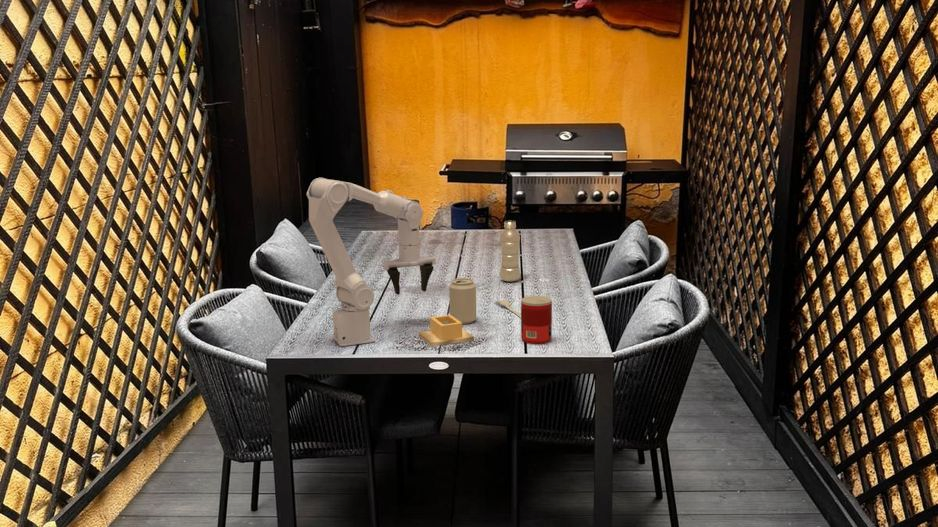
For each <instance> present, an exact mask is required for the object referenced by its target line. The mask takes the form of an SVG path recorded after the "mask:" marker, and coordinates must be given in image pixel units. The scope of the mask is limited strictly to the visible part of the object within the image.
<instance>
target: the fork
mask: <svg viewBox="0 0 938 527" xmlns="http://www.w3.org/2000/svg"><path fill="white" fill-rule="evenodd" d="M497 303H499V304H501V305H502V306H504V307H505V308H507V309H508V310H509V311H510V312H512V313H514V314H515V315H517V317H519V319H521V312H519V311H517V310H514V309H513V308H511V307H510V304H511V302H510V301H509V300H505V299H503V300H498V301H495V302H493V304H497Z"/></svg>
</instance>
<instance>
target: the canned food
mask: <svg viewBox="0 0 938 527" xmlns="http://www.w3.org/2000/svg"><path fill="white" fill-rule="evenodd" d="M520 313H521V318H520V325H521V326H520V338H521V340H522V342H523V343H526V344H529V343H530V345H544V344H548V343H549V342H551V340H552V336H553V335H552V334H553V333H552V332H553V331H552V326H553V324H552V322H553V318H552V317H553V316H552V315H553V301H552V298H550V297H548V296H545V295H544V296H541V295H530V296H526V297H523V298H521V301H520ZM547 342H548V343H547Z"/></svg>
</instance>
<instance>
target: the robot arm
mask: <svg viewBox="0 0 938 527" xmlns="http://www.w3.org/2000/svg"><path fill="white" fill-rule="evenodd" d="M306 197H307V199H308V221H309V224H310V226H311V228H312V230H313V232H314V234H315V236H316V238H317V241H318V242H319V245H320V246H321V248H322V251H323V254H324V255H325V258H326V259H327V262H328V264H329V266H330V268H331V270H332V272H333V274H334V276H335V278H336V279H335V280H334V281H333V284H334V286H335V295H336V298H337V300H338V301H339V302H340V306H341V308H339V309H335V310H334V311H333V312H332V324H333V326H332V327H333V337H332V338H333V339H334V341H335V342H336V343H337V344H338V346H340V347H347V346H353V345H354V346H355V345H361V344H368V343H375V342H376V339H375V337H373V335H371V315H370V312H371V311H370V310H371V307H372V304H373V303H374V300H375V292H374V290H373V288H371V287H370V286H369V285H368V284H367V283H366V281H365V280H364V278H363V277H362V276H361V275H360V274H359V273H358V272H357V271H356V268H355V267H354V264H353V262H352V260H351V257H350V255H349V253H348V251H347V249H346V246H345V245H344V243H343V240H342V238H341V236H340V234H339V232H338V230H337V228H336V227H337V226H336V225H335V223H334V218H335V217H336V215H337V214H338V212H339V211H340V210H341V209H342V208H343V207H344V205H345V203H346V202H347V201H348V202H350V201H352V200H353V199H355V200H358V201H360V202H364V203H368V204H371V205H373V207H374V210H375V211H376V212H378V213H381V214H383V215H387V216H390V217H393V218H395V219H396V220H397V232H398V233H397V235H398V258H396V259H391V260H384V261H382V264H383V265H382V267H383V269H384V270H385V271H386V273H387V274H388V276H389V278H390V281H391V283H392V286H393V288H394V294H396V295H397V296H398V295H400V294H401V290H400V289H401V287H400V278H401V275H400V274H401V272H400V271H399V269H401V268H411V267H418V266H419V272H420V289H421V291H422V292H427V289H428V288H427V287H428V283H429V280H430V278H431V275H432V273H433V271H434V269H435V268H434V266H435V265H437V258H436V257H435V256H433V255H432V256H421V250H420V249H421V247H420V245H421V243H420V242H421V241H420V240H421V239H420V226H421V220H422V219H423V216H424V210H423V209H422V206H421V204H420V203H419V202H418V201H415V200H411V199H407V196H404V195H401V196H400V195H397V194H394V191H393V190H390V189H386V191H385V190H381V191H379V192H378V193H377V192H375V191H373V190H370V189H368V188H365V187H363V186H361V185H358V184H354V183H352V182H347V181H342V180H341V181H340V180H335V179H328V178H326V177H325V178H324V177H318V178H315V179H313V180H312V181H311V182H310V185H309V186H308V189H307V191H306Z"/></svg>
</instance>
